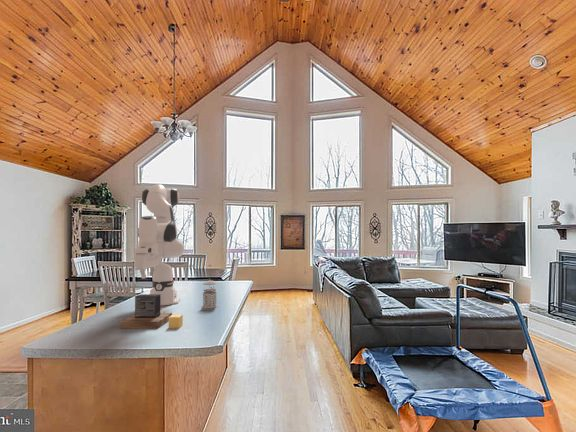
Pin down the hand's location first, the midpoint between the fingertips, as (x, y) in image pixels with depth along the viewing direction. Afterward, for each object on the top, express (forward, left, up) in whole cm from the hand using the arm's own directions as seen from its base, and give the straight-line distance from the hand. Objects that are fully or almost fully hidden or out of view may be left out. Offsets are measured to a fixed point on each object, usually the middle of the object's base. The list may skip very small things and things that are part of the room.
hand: (147, 277), depth 173 cm
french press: (-37, +22, -23) cm, 49 cm away
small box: (-1, 0, -20) cm, 20 cm away
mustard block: (+6, +16, -23) cm, 28 cm away
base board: (0, 0, -22) cm, 22 cm away
